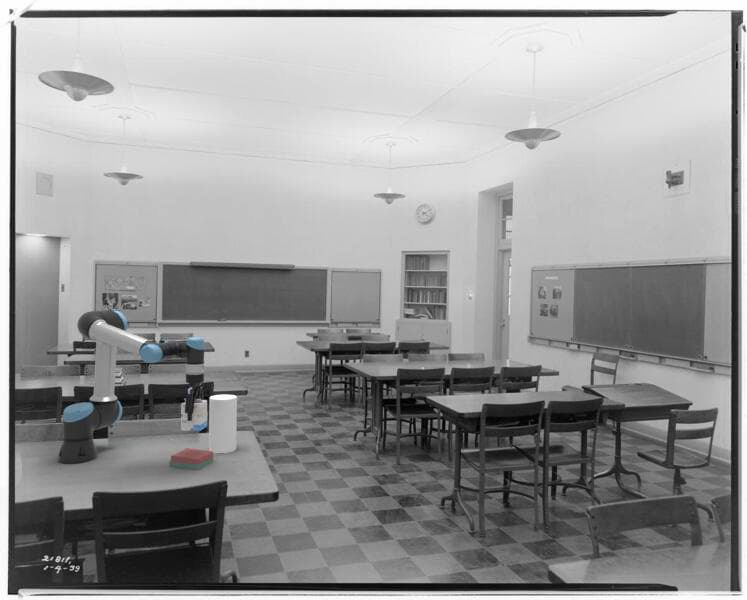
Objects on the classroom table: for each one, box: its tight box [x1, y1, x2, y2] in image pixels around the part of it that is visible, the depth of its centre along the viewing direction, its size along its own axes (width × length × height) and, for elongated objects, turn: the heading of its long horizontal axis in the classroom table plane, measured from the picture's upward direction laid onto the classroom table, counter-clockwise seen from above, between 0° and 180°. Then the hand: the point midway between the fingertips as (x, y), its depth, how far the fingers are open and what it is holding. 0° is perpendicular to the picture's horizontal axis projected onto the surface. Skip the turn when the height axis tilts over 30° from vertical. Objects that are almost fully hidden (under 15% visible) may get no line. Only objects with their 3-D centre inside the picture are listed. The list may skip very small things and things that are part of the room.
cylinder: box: [208, 393, 238, 454], centre depth 260 cm, size 12×12×25 cm
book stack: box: [168, 447, 215, 471], centre depth 239 cm, size 14×12×5 cm
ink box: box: [180, 398, 208, 432], centre depth 239 cm, size 9×8×13 cm
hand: (194, 425), depth 239 cm, fingers closed on ink box, 8 cm apart
